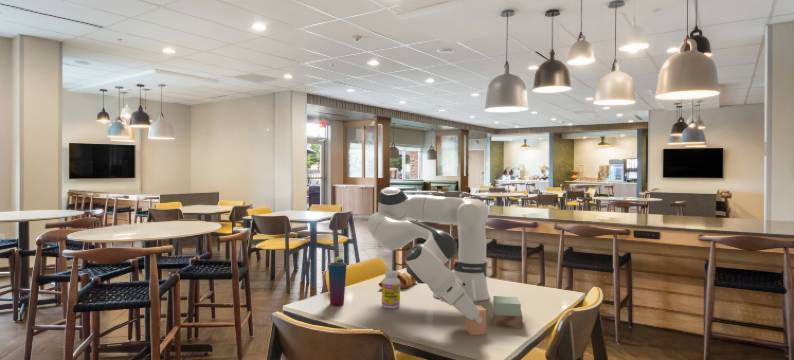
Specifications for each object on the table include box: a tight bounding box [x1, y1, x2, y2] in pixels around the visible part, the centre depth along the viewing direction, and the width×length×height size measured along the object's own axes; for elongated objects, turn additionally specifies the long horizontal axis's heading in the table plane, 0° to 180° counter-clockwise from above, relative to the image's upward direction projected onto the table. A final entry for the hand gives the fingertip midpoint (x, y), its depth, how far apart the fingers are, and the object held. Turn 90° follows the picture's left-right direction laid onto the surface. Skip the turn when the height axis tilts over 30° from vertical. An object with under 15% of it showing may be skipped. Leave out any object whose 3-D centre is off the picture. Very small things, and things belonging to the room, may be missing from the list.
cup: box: [327, 261, 348, 307], centre depth 167 cm, size 7×7×15 cm
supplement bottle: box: [381, 269, 401, 309], centre depth 165 cm, size 7×7×13 cm
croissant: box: [378, 271, 417, 290], centre depth 194 cm, size 21×10×8 cm, turn 131°
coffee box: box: [334, 256, 344, 263], centre depth 188 cm, size 8×3×13 cm, turn 15°
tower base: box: [493, 311, 524, 330], centre depth 149 cm, size 9×9×4 cm
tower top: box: [492, 295, 522, 316], centre depth 149 cm, size 8×8×4 cm
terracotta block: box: [465, 304, 487, 336], centre depth 140 cm, size 5×5×8 cm
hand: (477, 317), depth 140 cm, fingers closed on terracotta block, 5 cm apart
